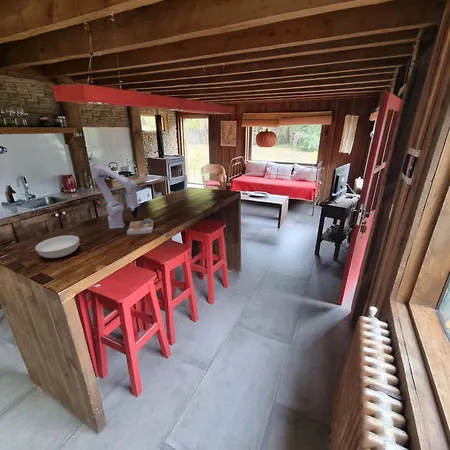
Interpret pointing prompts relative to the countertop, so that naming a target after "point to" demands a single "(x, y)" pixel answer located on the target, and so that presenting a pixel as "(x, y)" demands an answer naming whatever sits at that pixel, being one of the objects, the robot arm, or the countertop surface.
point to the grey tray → (142, 230)
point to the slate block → (147, 221)
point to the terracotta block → (136, 226)
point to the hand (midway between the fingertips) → (135, 217)
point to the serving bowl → (58, 246)
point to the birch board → (142, 224)
